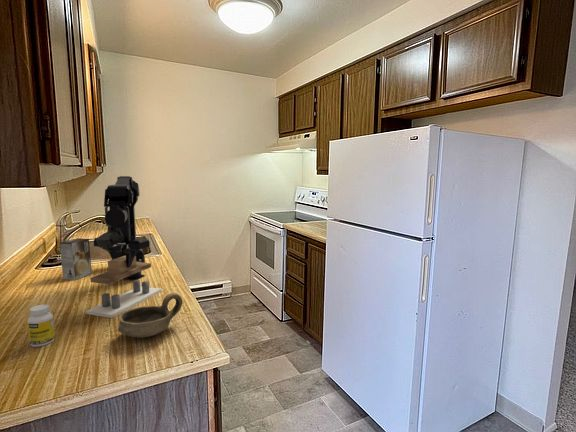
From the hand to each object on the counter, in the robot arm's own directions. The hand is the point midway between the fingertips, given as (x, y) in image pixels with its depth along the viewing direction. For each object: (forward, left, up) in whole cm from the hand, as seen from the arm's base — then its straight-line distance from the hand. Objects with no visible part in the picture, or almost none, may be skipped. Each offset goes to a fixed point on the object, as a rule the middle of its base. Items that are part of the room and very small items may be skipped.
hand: (123, 266), depth 112 cm
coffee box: (-16, -40, -13) cm, 45 cm away
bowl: (+15, +24, -13) cm, 31 cm away
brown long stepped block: (0, 0, -3) cm, 3 cm away
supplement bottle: (+29, 0, -13) cm, 32 cm away
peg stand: (0, +1, -13) cm, 13 cm away
